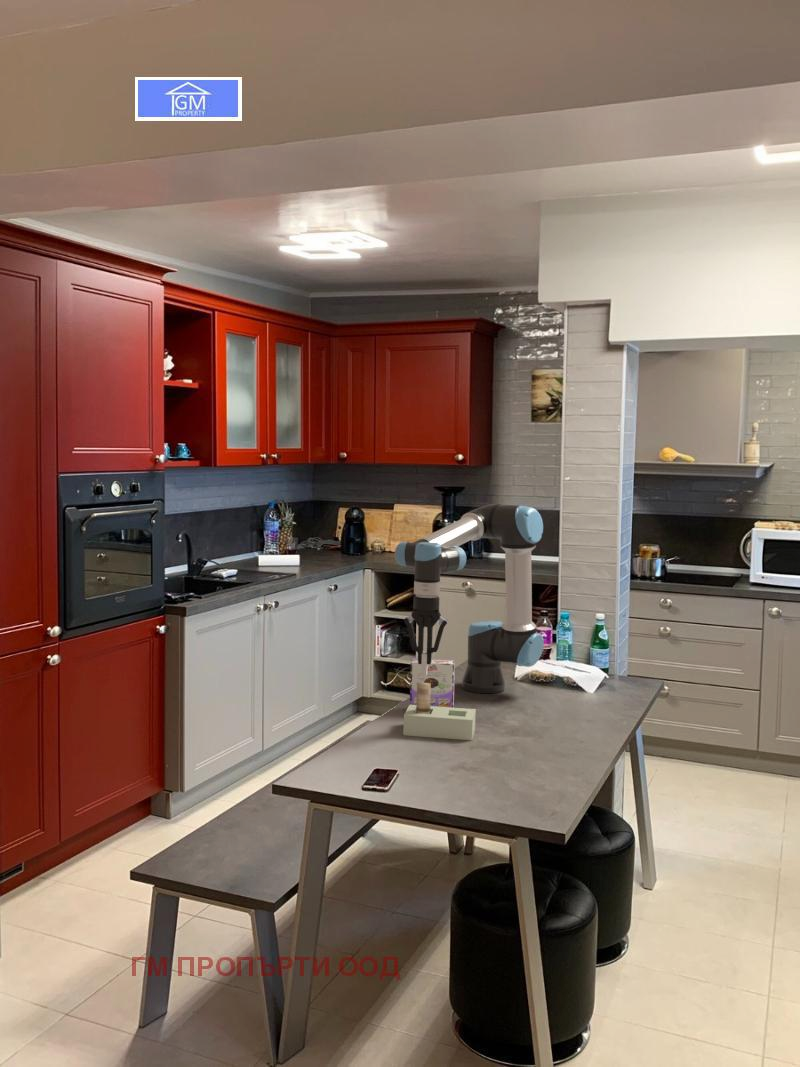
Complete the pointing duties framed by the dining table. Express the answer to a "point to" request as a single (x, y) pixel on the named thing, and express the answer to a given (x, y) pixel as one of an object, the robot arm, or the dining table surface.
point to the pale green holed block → (440, 723)
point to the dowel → (423, 698)
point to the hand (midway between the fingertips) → (424, 674)
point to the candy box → (434, 682)
